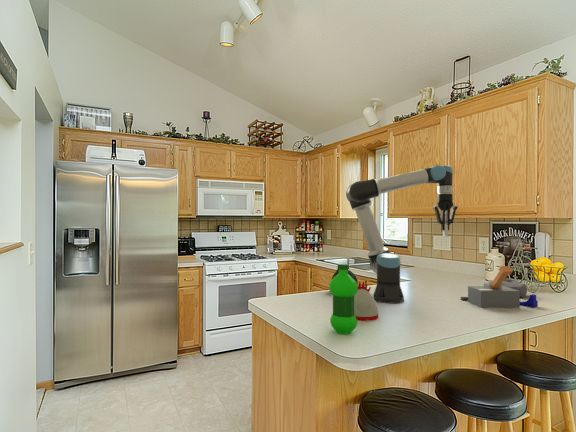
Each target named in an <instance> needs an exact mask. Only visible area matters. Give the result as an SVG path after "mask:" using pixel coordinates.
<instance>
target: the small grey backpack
mask: <svg viewBox="0 0 576 432" xmlns="http://www.w3.org/2000/svg"><path fill="white" fill-rule="evenodd" d="M493 280H494V279H492V280H489V281H487V282H486V283H489V284H491V283H492V281H493ZM502 286H505V287H508V288H512V289H515V290H518V291H520V298H522V297H523V298H524V297H526V296H527V293H528V292H527V291H528V287H527V284H525V283H523V282H518V281H515V279H514V280H511V279H505V280H504V281H503V282H502Z"/></svg>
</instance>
